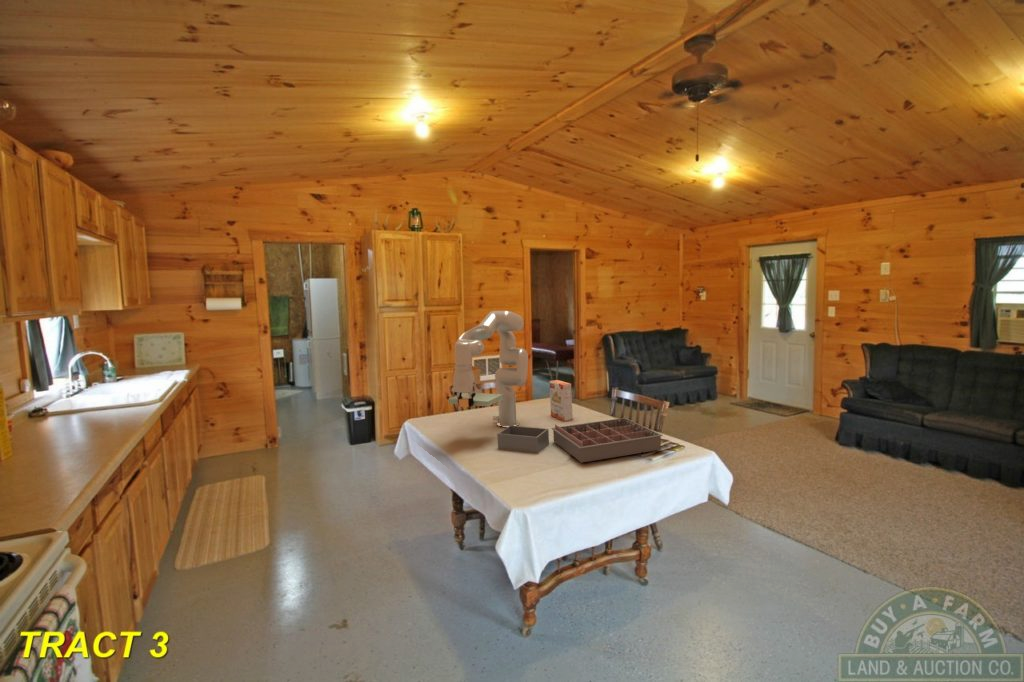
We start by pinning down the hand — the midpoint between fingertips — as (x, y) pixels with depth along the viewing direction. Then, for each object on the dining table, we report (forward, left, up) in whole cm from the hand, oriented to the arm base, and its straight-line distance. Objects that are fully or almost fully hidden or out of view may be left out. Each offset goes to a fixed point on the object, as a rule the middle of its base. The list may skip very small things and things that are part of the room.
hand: (465, 405), depth 236 cm
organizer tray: (+62, +18, -21) cm, 68 cm away
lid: (0, +8, 0) cm, 8 cm away
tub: (+26, +7, -20) cm, 34 cm away
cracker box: (+26, +60, -21) cm, 69 cm away
